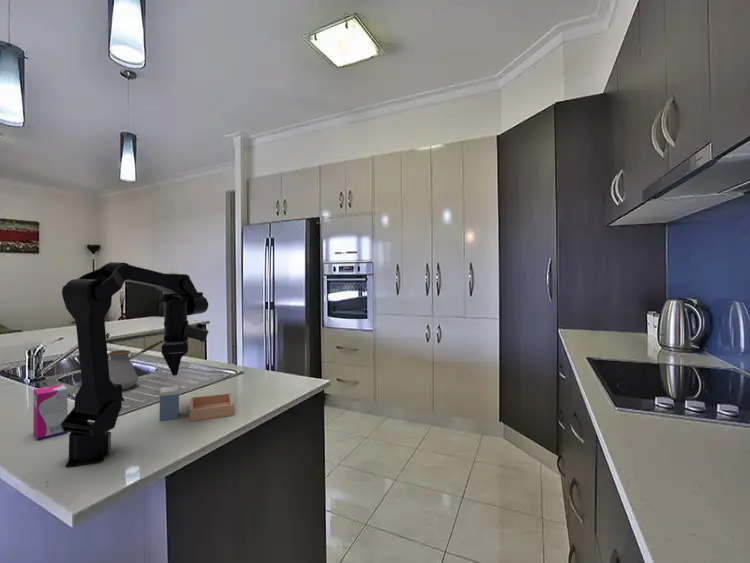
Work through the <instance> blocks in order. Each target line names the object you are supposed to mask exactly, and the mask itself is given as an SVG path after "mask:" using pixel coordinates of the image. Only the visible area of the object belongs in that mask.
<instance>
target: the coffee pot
mask: <svg viewBox="0 0 750 563" xmlns="http://www.w3.org/2000/svg"><path fill="white" fill-rule="evenodd" d="M163 343H164V339H162V340H159V341H156V342H155V343H154V344H151V345H149V346H148V347H146V348H144V349H142V350H140V351H139V352H137V353H135V354H132V355H131V356H129V355H130V353H131V350H127V349H123V350H122V349H121V350H112V351H109V352H107V353H108V355H109V359H108V365H109V376H110V380H111V382H112V383H113V384H121V385H122V392H123V391H127V390H129V389H131V388H132V387H133V386H134V385H136V384H137V383H138V381H139V376H138V374H137V372H136V370H135V368H134V366H133V364H132V361H131V360H132V359H134V358H136V357H137V356H139V355H141V354H144V353H146V352H148V351H150V350H151V349H154V348H155V347H156V346H159V345H160V344H163Z"/></svg>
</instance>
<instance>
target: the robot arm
mask: <svg viewBox="0 0 750 563" xmlns="http://www.w3.org/2000/svg"><path fill="white" fill-rule="evenodd" d="M125 282H129V283H135V284H140V285H145V286H151V287H153V288H155V290H158V291H159V292H162V293H164V294H163V295H162V296H161V297H160V298H159V299H158V300H157V303H161V304H162V303H163V304H164V308H163V309H164V310H163V311H164V318H163V320H164V321H163V328H164V329H163V332H164V333H163V334H164V335H163V340H164V341H163V343H161V355H162V357H163V359H164V361H165V362H166V364H167V367H168V368H169V370H170V373H171V375H172V376H173V377H174V376H178V373H179V370H180V365H181V361H182V358H183V357H184V356H185V355H186V354H188V353H189V342H188V340H189V339H193V340H198V341H199V342H202V343H204V342H205V341H206V339H207V337H208V334H209V330H208V329H207V328H204V324H203V323H200V322H198V323H197V324H195V325H194V324H193V325H191V324H189V320H188V316H193V315H199V314H204V313H205V312H207V310H209V302H208V300H207V298H206V297H205V296H204V294H203V293H204V292H202V291H197V288H196V286H195V285H194V282H193V281H192V280H191V276H190V275H188V274H187V273H186V274H185V273H163V272H161V271H160V272H159V271H155V270H152V269H148V268H143V267H140V266H135V265H131V264H129V263H127V262H118V261H117V262H112V261H110V262H107V263H105V264H104V265H102V266H101V267H99V268H96V269H95V270H93V271H90V272H87V273H84V274H83V275H81V276H79V277H78V278H75V279H74V278H73V279H70V281H68V282H66V284H65V285H63V287H62V289H61V295H62V299H63V302H64V305H65V309H66V310H67V312H68V313H69V314H70V316H71V318H73V319H74V322H75V326H76V337H77V338H76V339H77V348H78V355H79V356H78V357H79V365H80V366H79V367H80V368H79V369H80V379H81V385H80V387H79V388H78V391H77V393H76V394H75V397H74V406H73V408H72V409H71V410H70V412H69V413H68V416H67V417H66V418H65V419H64V421H63V422H62V423H61V427H62V430H63V432H67V433H69V434H68V460H67V462H65V467H66V468H69V467H75V466H76V467H77V466H82V465H88V464H93V463H100V462H103V461H104V460H105V459H106V456H107V455H108V454H109V453H110V451H111V448H112V447H111V446H112V431H110V430H113V429H115V427H116V424H117V420H118V419H119V418H118V417H119V414H120V411H121V410H122V404H123V402H124V401H125V399H124V398H123V391H122V385H121V384H113V383H112V382H111V380H110V376H109V365H108V362H109V357H108V355H109V354H108V353H109V352H108V345H107V344H108V343H107V333H106V332H107V331H106V323H105V319H106V317H107V314H108V312H109V310H110V309H111V307H112V300H113V296H114V295H115V294H116V293H118V292H119V291H121V289H122V288H123V285H124V284H125ZM205 343H206V342H205Z"/></svg>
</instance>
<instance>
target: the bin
mask: <svg viewBox="0 0 750 563" xmlns="http://www.w3.org/2000/svg"><path fill="white" fill-rule="evenodd" d="M232 399H233V398H232V393H220V394H211V395H203V396H193V397H191V398H190V405H189V406H190V407H189V422H196V421H204V420H212V419H218V417H219V418H225V417H224V416H226V417H231V416H230V415H233V416H234V403H233V400H232Z"/></svg>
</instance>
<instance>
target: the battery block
mask: <svg viewBox="0 0 750 563" xmlns="http://www.w3.org/2000/svg"><path fill="white" fill-rule="evenodd" d="M179 411H180V385H179V386H178V385H177V386H166V387H161V388H160V392H159V412H158V413H159V417H158V418H159V419H158V420H159V422H163V421H172V420H177V419H178V418H179V413H180V412H179Z"/></svg>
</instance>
